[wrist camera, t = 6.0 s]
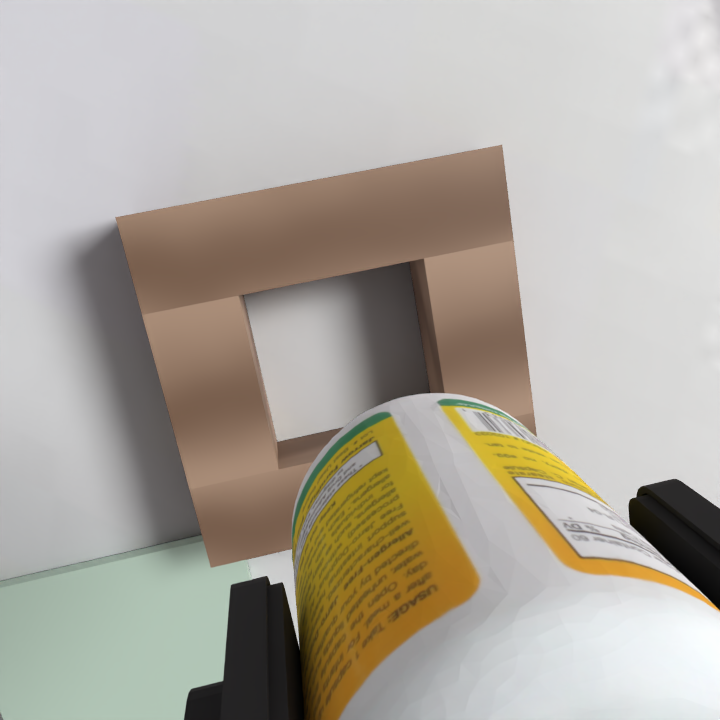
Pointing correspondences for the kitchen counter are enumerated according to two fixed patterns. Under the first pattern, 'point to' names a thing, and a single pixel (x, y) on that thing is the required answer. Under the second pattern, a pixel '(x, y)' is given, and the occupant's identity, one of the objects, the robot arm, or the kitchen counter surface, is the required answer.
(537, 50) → the kitchen counter surface
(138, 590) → the place mat
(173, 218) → the block
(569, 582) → the supplement bottle
